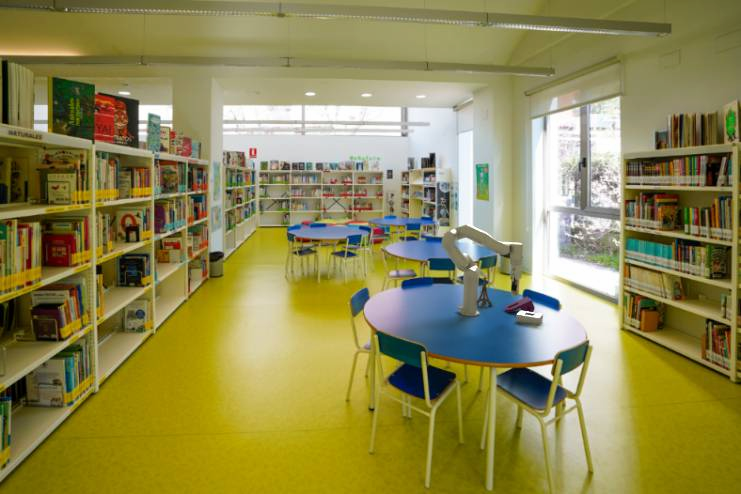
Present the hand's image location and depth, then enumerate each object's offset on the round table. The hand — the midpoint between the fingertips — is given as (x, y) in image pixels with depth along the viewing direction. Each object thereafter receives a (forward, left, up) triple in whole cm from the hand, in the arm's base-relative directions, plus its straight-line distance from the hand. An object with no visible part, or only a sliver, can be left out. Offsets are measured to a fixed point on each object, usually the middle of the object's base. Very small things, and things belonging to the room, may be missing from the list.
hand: (515, 289), depth 290 cm
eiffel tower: (-27, +19, -20) cm, 38 cm away
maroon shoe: (-2, +19, -20) cm, 27 cm away
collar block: (+10, 0, -20) cm, 22 cm away
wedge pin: (0, 0, -3) cm, 3 cm away
